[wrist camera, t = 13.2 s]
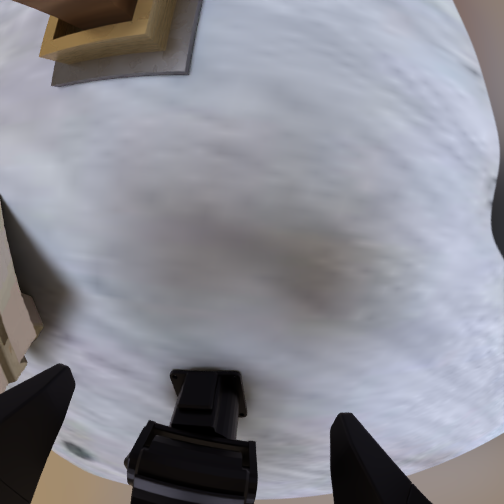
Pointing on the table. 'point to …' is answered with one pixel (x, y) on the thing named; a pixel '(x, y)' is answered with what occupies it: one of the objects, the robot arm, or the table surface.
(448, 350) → the table surface
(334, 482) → the robot arm
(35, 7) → the rail post
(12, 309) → the wall
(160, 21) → the gold square frame
